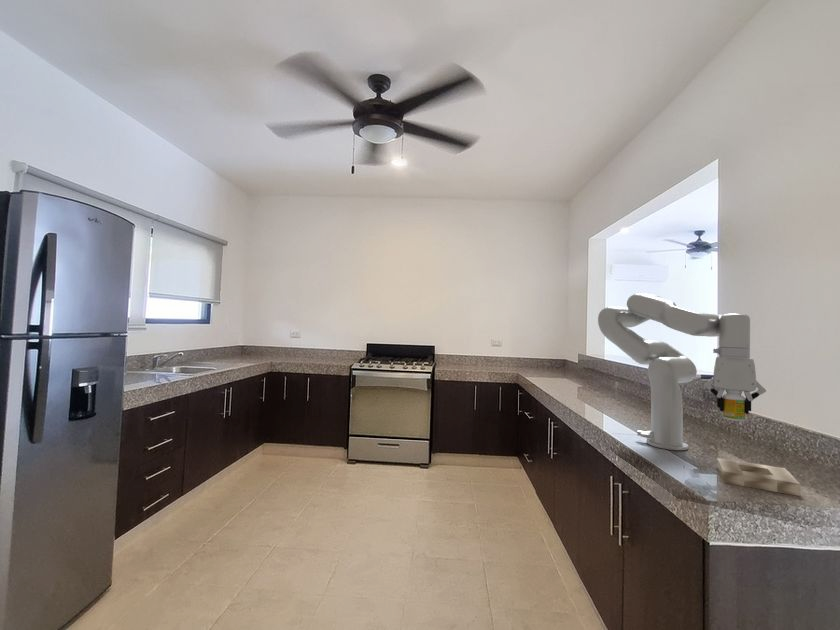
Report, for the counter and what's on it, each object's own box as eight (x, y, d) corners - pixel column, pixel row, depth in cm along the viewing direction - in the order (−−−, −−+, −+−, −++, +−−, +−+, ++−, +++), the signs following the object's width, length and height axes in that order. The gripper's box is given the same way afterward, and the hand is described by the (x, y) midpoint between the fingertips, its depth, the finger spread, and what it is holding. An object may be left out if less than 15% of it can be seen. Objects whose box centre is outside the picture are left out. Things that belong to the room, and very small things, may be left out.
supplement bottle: (738, 422, 117) (738, 389, 117) (718, 418, 122) (718, 387, 122) (748, 421, 119) (749, 389, 119) (728, 417, 124) (729, 386, 124)
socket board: (723, 482, 103) (723, 471, 103) (717, 468, 115) (717, 457, 115) (800, 496, 95) (800, 483, 95) (785, 479, 107) (785, 468, 107)
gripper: (701, 352, 122) (700, 409, 122) (773, 355, 113) (773, 418, 112) (699, 351, 129) (698, 406, 128) (767, 354, 119) (767, 414, 119)
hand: (733, 411), depth 120 cm, fingers closed on supplement bottle, 5 cm apart
